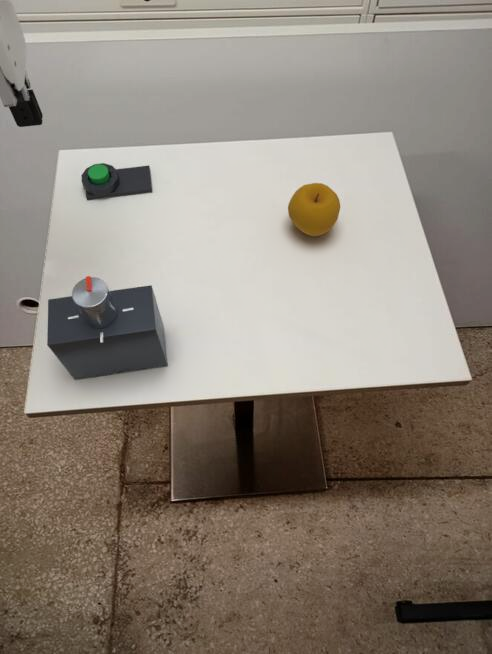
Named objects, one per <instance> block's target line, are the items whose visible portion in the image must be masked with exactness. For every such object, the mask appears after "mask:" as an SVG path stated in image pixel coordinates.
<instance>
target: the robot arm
mask: <svg viewBox="0 0 492 654" xmlns="http://www.w3.org/2000/svg"><path fill="white" fill-rule="evenodd" d="M26 65H27V43H26V39H25V35H24V32H23V29H22V25H21V23H20V20H19V17H18V15H17V12H16V9H15V7H14V5H13V1H12V0H0V100H1V102H2V105H3V107H4V108H8V109H9V111H10V113H11V115H12V117H13V120H14V122H15V124H16V126H17V127H19V128H24V127H36V126H41V125H43V118H44V117H43V112H42V109H41V107H40V105H39V101H38V100H37V97H36V94H35V91H34V89H31V88H32V86H31V82H30V78H29V76H28V73H27V70H26V69H27V67H26Z"/></svg>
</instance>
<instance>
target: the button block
mask: <svg viewBox="0 0 492 654" xmlns="http://www.w3.org/2000/svg"><path fill="white" fill-rule="evenodd" d="M97 164H98V163H93V164H92V165H90V166H88V167H86V168H85V170H84V171H83V172H82V174H81V185H82V187H83V189H84V190H85V199H86V201H91V200H92V201H93V200H98V199H99V200H101V199H108V198H115V197H123V196H124V197H125V196H131V195H133V196H134V195H141V194H148V193H149V194H150V193H153V185H152V174H151V167H150V164H148V165H139V166H133V167H132V166H131V167H124V168H115V166H113V165H112V164H108V163H104V162H103V163H102V162H101V163H99V164H101V165H104V166H106V167H107V169H108V171H109V175H110V179H109V181H108V182H106V183H105V184H102V185H95V184H93V183H92V182H91V181H90V178H89V175H88V170H89V169H90V168H91V167H92V166H94V165H97Z"/></svg>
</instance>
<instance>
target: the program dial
mask: <svg viewBox="0 0 492 654" xmlns="http://www.w3.org/2000/svg"><path fill="white" fill-rule="evenodd" d="M110 291H111V290H109V287H108V285H107V282H105V281H104V279H101V278H99V277H96V276H95V277H94V276H93V277H91V276H90V275H87V276H85V277H84V278H82V279H81V280H79V281H78V282H77V283H75V285H74V286H73V288H72V290H71V296H72V298H73V300H74V302H75V304H76V306H77V307H78V309H79V311H80V313H81V314H82V316H83V318H84V320H85V321H86V323H87V324H88V325H89V326H91V327H94V328H104V327H107V326H109V325H110V324H112V323H113V322H114V320H115V319H116V317H117V307H116V305H115V303H114V300H113V298H112V296H111V293H110Z"/></svg>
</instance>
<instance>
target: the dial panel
mask: <svg viewBox="0 0 492 654" xmlns="http://www.w3.org/2000/svg"><path fill="white" fill-rule="evenodd" d="M109 291H110V293H111V296H112V298H113V300H114V303H115V305H116V307H117V317H116V319H115V320H114V322H113V323H112V324H110V325H109V326H107V327H104V328H94V327H91V326H89V325H88V324H87V323H86V321H85V320H84V318H83V316H82V314H81V313H80V311H79V309H78V307H77V306H76V304H75V302H74V300H73V298H72V295H71V296H64V297H56V298H49V299H48V300H47V333H46V334H47V339H46V340H47V341H46V345H47V346H48V348H49V350H50V351H51V352H52V353H53V355H54V356H55V357H56V358H57V360H58V361H59V362H60V363H61V364H62V366H63V367H64V369H65V370H66V371H67V372H68V373H69V375H70V376H71V377H72V378H73V380H74V381H78V380H84V379H91V378H99V377H104V376H112V375H117V374H124V373H125V374H126V373H130V372H136V371H144V370H151V369H157V368H163V367H164V368H165V367H168V366H169V364H168V354H167V353H168V352H167V344H166V335H165V333H166V332H165V326H164V321H163V319H162V316H161V312H160V308H159V306H158V302H157V298H156V296H155V293H154V292H155V291H154V289H153V285H152V284H151V285H143V286H135V287H129V288H121V289H114V290H109Z"/></svg>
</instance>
